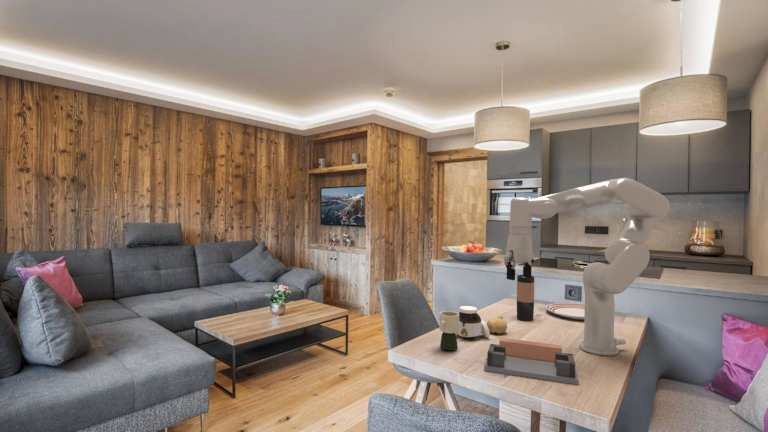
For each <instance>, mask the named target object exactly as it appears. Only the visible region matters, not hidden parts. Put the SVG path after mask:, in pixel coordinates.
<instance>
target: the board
mask: <svg viewBox="0 0 768 432" xmlns="http://www.w3.org/2000/svg"><path fill="white" fill-rule="evenodd" d="M483 368H484V369H483V370H484V372H487V373H488V372H490V373H494V374H495V373H496V374H503V375H509V376H515V377H516V376H517V377H523V378H530V379H536V380H542V381H549V382H556V383H562V384H569V385H574V386H575V385H579V381H580V380H579V375H578V373H577V369H576V367H575V378H571V377H564V376H558V375H556V367H555V362H550V361H543V360H536V359H528V358H521V357H513V356H512V357H511V356H506V359H505V360H504V368H502V367H495V366H488V365H487V358H486V359H485V364H484V367H483Z"/></svg>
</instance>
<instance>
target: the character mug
mask: <svg viewBox="0 0 768 432" xmlns="http://www.w3.org/2000/svg"><path fill="white" fill-rule="evenodd" d="M438 317H439V318H438V320H439V327H438V329H439V330H440V331H441V338H440V345H439V348H440V349H442V350H446V351H456V350H458V347H459V346H458V335H457V334H456V333H457V332H459V312H457V311H450V310H444V311H440V312H439V315H438Z"/></svg>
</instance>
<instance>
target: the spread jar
mask: <svg viewBox="0 0 768 432" xmlns="http://www.w3.org/2000/svg"><path fill="white" fill-rule="evenodd" d="M458 313H459V332H457V333H456V336H457V338H459V339H462V340H466V341H474V340H477V339H478V338H479V337H480V336H481V335H482V336H483V337H484V338H489V337H490V335H491V332H490V331H489V329H488V326H487V322H485V321H484V319H482V318H481V316H480V315H479V314H478V308H477V307H476V306H473V305H472V306H471V305H462V306H460V307H459V311H458Z"/></svg>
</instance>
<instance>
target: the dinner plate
mask: <svg viewBox="0 0 768 432" xmlns="http://www.w3.org/2000/svg"><path fill="white" fill-rule="evenodd" d="M545 309H546V310H547V312H550V313H552V314H554V315H557V316H559V317H562V318H566V319H569V320H577V321H584V313H585V303H575V302H558V303H551V304H547V305H546V306H545Z"/></svg>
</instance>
